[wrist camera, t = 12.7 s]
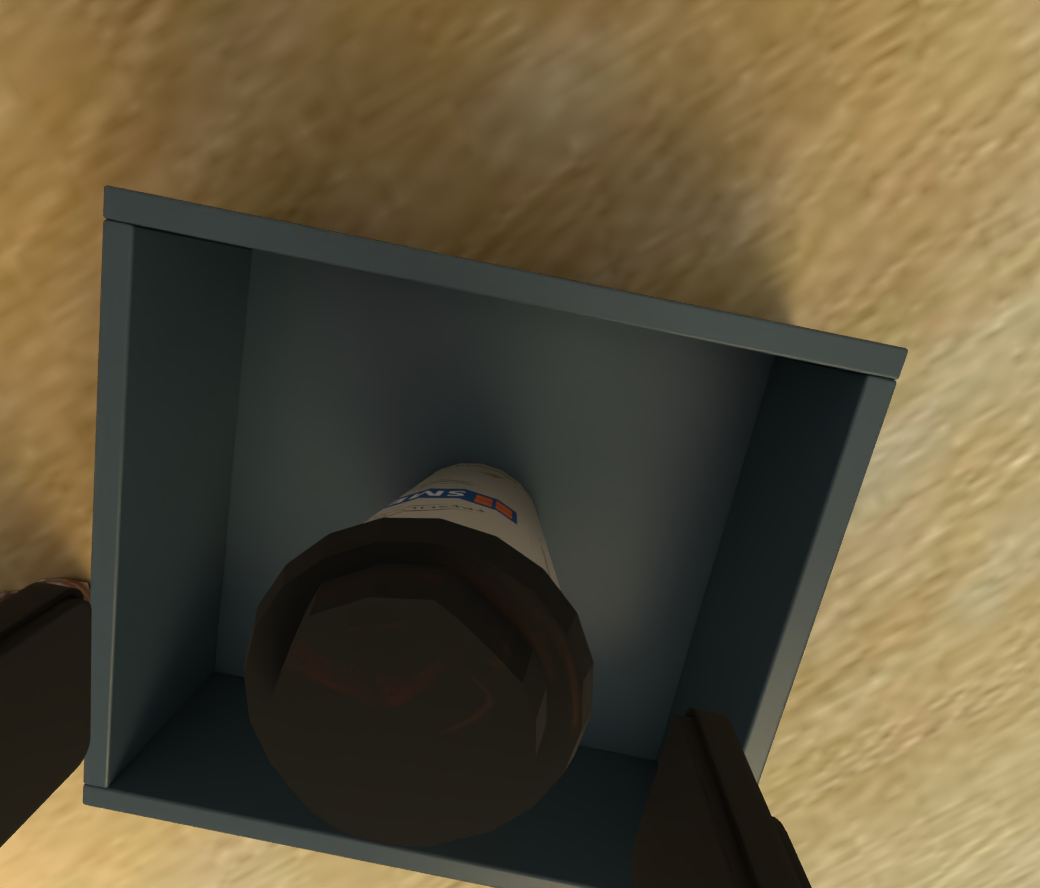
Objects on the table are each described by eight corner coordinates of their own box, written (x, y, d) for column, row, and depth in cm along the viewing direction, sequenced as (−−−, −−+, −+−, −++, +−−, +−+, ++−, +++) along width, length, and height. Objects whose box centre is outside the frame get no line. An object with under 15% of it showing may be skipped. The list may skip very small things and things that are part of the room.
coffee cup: (588, 609, 21) (625, 880, 11) (392, 633, 21) (259, 911, 11) (559, 412, 19) (571, 520, 9) (349, 443, 20) (155, 577, 10)
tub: (242, 222, 19) (102, 184, 13) (795, 335, 19) (910, 349, 13) (203, 674, 23) (81, 805, 17) (666, 768, 23) (708, 932, 17)
